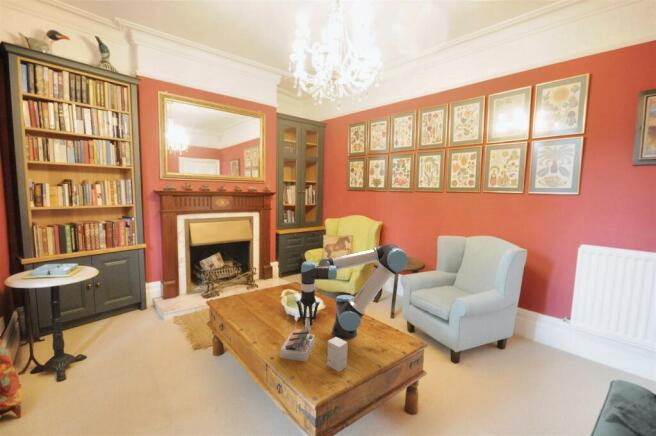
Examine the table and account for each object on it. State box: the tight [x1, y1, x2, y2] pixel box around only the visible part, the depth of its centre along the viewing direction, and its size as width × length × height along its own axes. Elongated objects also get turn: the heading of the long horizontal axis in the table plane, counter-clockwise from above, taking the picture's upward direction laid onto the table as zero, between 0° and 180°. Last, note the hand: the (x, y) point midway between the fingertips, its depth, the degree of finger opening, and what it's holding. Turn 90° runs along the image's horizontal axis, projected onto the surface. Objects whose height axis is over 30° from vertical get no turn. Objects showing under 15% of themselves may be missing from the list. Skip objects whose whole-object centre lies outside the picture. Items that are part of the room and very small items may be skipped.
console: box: [279, 331, 316, 362], centre depth 159 cm, size 14×18×5 cm
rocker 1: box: [292, 328, 310, 335], centre depth 165 cm, size 9×4×2 cm, turn 79°
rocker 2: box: [289, 333, 307, 341], centre depth 159 cm, size 9×4×2 cm, turn 78°
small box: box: [326, 336, 349, 373], centre depth 146 cm, size 8×6×13 cm
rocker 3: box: [285, 338, 303, 348], centre depth 153 cm, size 9×4×2 cm, turn 78°
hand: (307, 330), depth 164 cm, fingers closed, pressing on rocker 1
